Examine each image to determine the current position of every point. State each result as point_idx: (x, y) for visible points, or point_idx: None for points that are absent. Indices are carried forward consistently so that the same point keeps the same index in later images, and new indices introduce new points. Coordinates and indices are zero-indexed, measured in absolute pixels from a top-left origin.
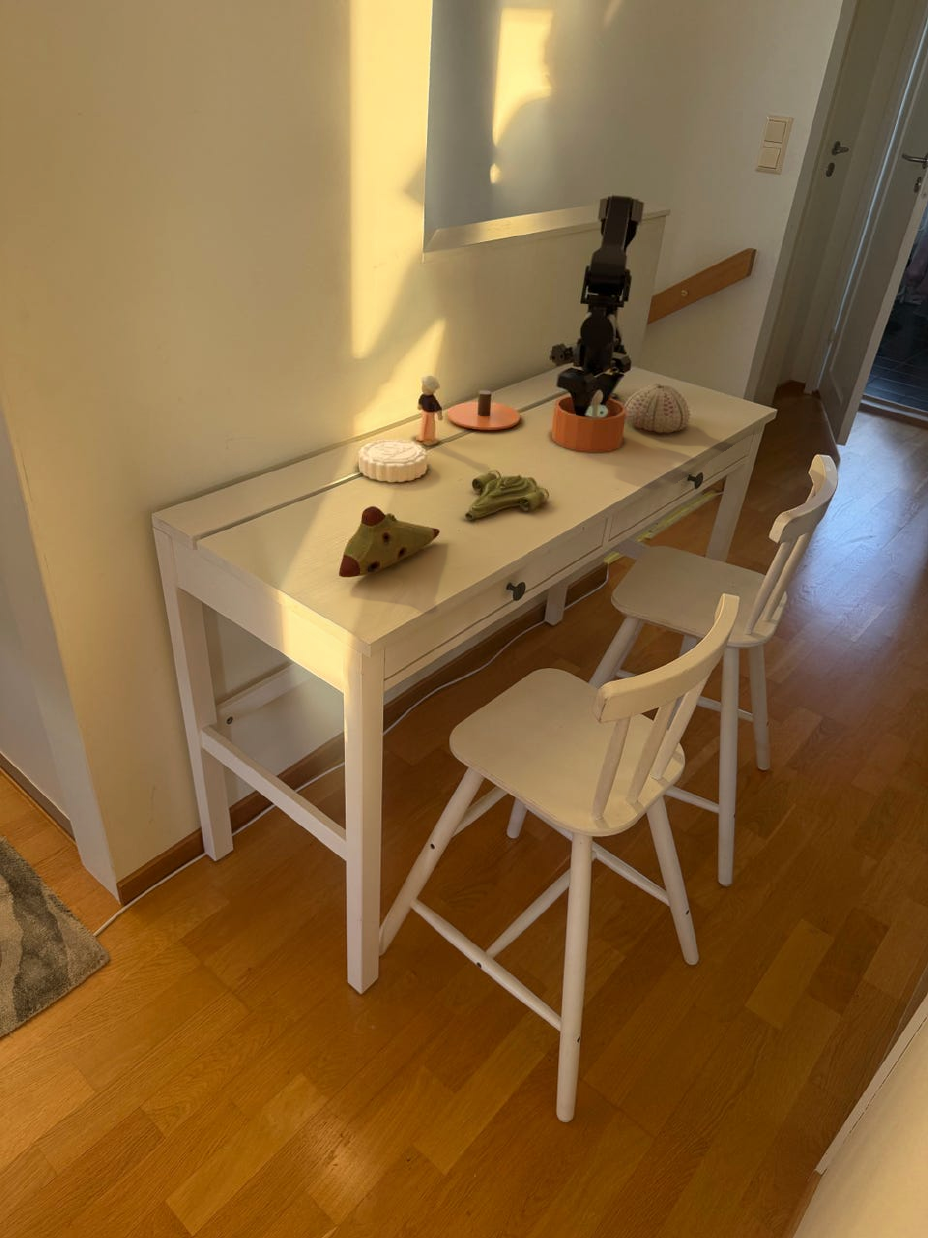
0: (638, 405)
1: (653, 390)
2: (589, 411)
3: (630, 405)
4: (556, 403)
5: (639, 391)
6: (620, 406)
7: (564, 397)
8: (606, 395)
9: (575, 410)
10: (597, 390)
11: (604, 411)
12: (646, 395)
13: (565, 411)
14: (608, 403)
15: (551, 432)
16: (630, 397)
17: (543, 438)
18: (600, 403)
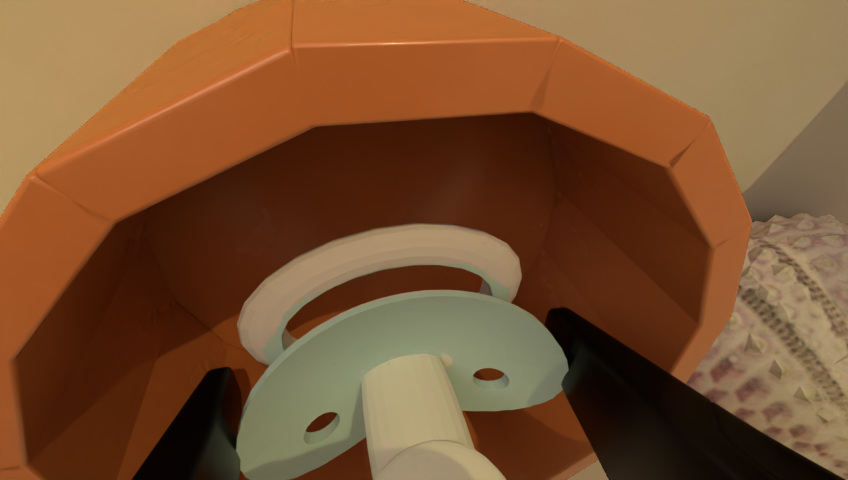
0: (704, 390)
1: (818, 462)
2: (462, 322)
3: (730, 334)
4: (112, 175)
5: (845, 390)
6: (565, 460)
7: (509, 91)
8: (616, 472)
9: (143, 471)
10: (673, 445)
11: (503, 389)
12: (774, 438)
13: (2, 430)
14: (640, 354)
15: (177, 42)
16: (819, 321)
17: (74, 3)
18: (571, 377)
